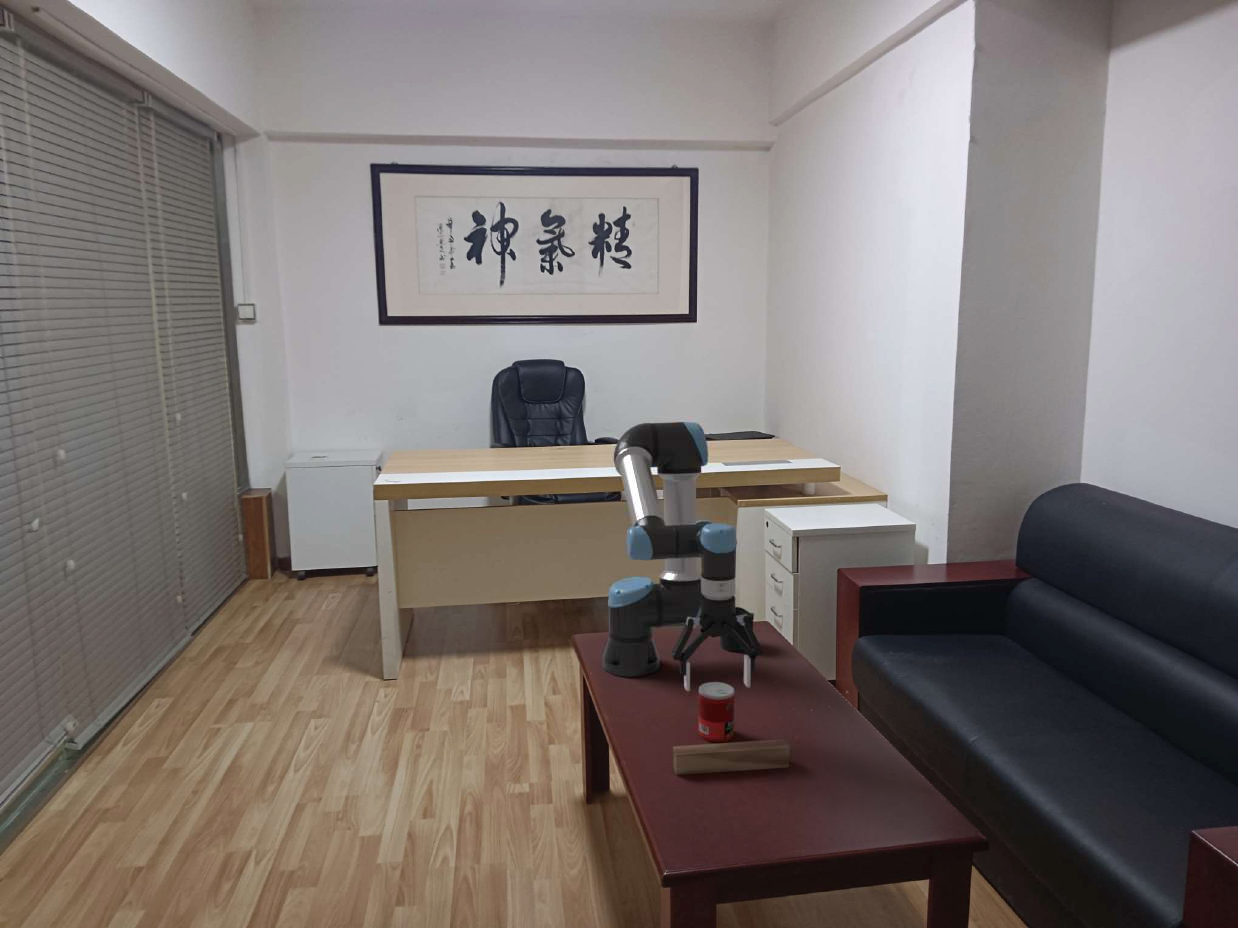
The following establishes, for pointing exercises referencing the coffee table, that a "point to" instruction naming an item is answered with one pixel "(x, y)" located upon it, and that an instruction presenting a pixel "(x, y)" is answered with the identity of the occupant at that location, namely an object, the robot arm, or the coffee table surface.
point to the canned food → (716, 711)
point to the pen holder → (729, 642)
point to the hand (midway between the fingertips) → (717, 686)
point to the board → (730, 756)
